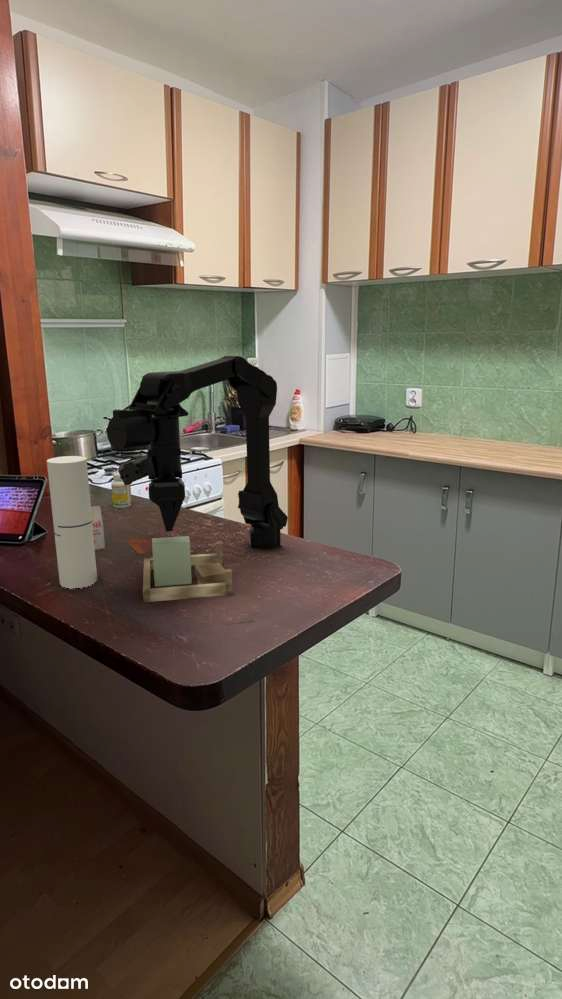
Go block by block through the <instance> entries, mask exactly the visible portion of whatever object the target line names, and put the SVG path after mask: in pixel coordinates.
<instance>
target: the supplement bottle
mask: <svg viewBox="0 0 562 999" xmlns="http://www.w3.org/2000/svg"><path fill="white" fill-rule="evenodd" d="M112 478H113V481H111V496H112V497H111V498H112V506H113V507H114V508H117V509H126V508H129V507H131V506H132V488H131V485H132V484H130V485H126V486H125V485H124V483H123V480H122V479H121V478H120V474H119V472H115V473H113V474H112Z"/></svg>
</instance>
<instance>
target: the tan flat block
mask: <svg viewBox="0 0 562 999" xmlns="http://www.w3.org/2000/svg"><path fill="white" fill-rule="evenodd" d="M225 570H226V568H224V566H223V564H220V563H213V564H206V565H199V566H194V576H195V577H196V579H197V581H198V580H199V582H200V583H201V584H211V583H223V582H225Z"/></svg>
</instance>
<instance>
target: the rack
mask: <svg viewBox="0 0 562 999" xmlns="http://www.w3.org/2000/svg"><path fill="white" fill-rule="evenodd" d="M190 555H191V567H195V566H199V565H206V564H213V563H220V564H221V565H223V564H224V562H223V561H224V559H223V558H224V557H223V542H222V541H215V553H214V552H213V553H203V554H202V553H201V554H199V553H198V554H190ZM152 570H154V566H153V557H146V558H143V576H142V577H143V579H142V580H143V582H142V596H143V597H142V598H143V600H142V601H143V603H153V602H163V601H174V600H175V601H176V600H186V599H197V598H198V599H199V598H208V597H209V598H212V597H220V596H222V597H223V596H232V595H233V571H232V569H230V568H228V569H225V582H223V583H211V584H199V585H198V584H186V585H174V586H162V587H154V588H153V587H152V588H151V581H152V580H151V573H152V572H151V571H152Z"/></svg>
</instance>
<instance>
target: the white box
mask: <svg viewBox="0 0 562 999" xmlns="http://www.w3.org/2000/svg"><path fill="white" fill-rule="evenodd" d="M91 515H92V526H93V537H94V549H95V550H97V551H101V550H100V549H104V550H106V546H105V545H106V543H105V533H104V521H103V517H102V516H103V515H102V510H101V506H100V505H98V506H97V505H94V506H91Z"/></svg>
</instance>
